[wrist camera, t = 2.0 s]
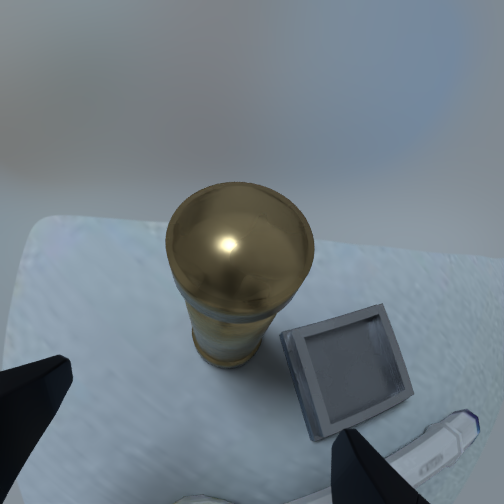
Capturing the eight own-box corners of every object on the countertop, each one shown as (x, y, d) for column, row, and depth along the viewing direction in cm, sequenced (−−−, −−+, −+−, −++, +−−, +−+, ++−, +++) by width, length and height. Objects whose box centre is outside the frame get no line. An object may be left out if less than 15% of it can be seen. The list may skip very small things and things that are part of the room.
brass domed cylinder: (201, 374, 19) (176, 323, 8) (188, 311, 21) (160, 191, 10) (267, 360, 20) (335, 289, 9) (250, 300, 22) (287, 176, 11)
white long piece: (485, 448, 13) (166, 593, 5) (432, 453, 18) (166, 549, 10) (477, 397, 15) (137, 528, 7) (424, 410, 21) (147, 494, 13)
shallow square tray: (310, 439, 17) (320, 442, 15) (279, 335, 21) (286, 327, 19) (402, 398, 19) (418, 395, 17) (371, 308, 23) (383, 298, 21)
